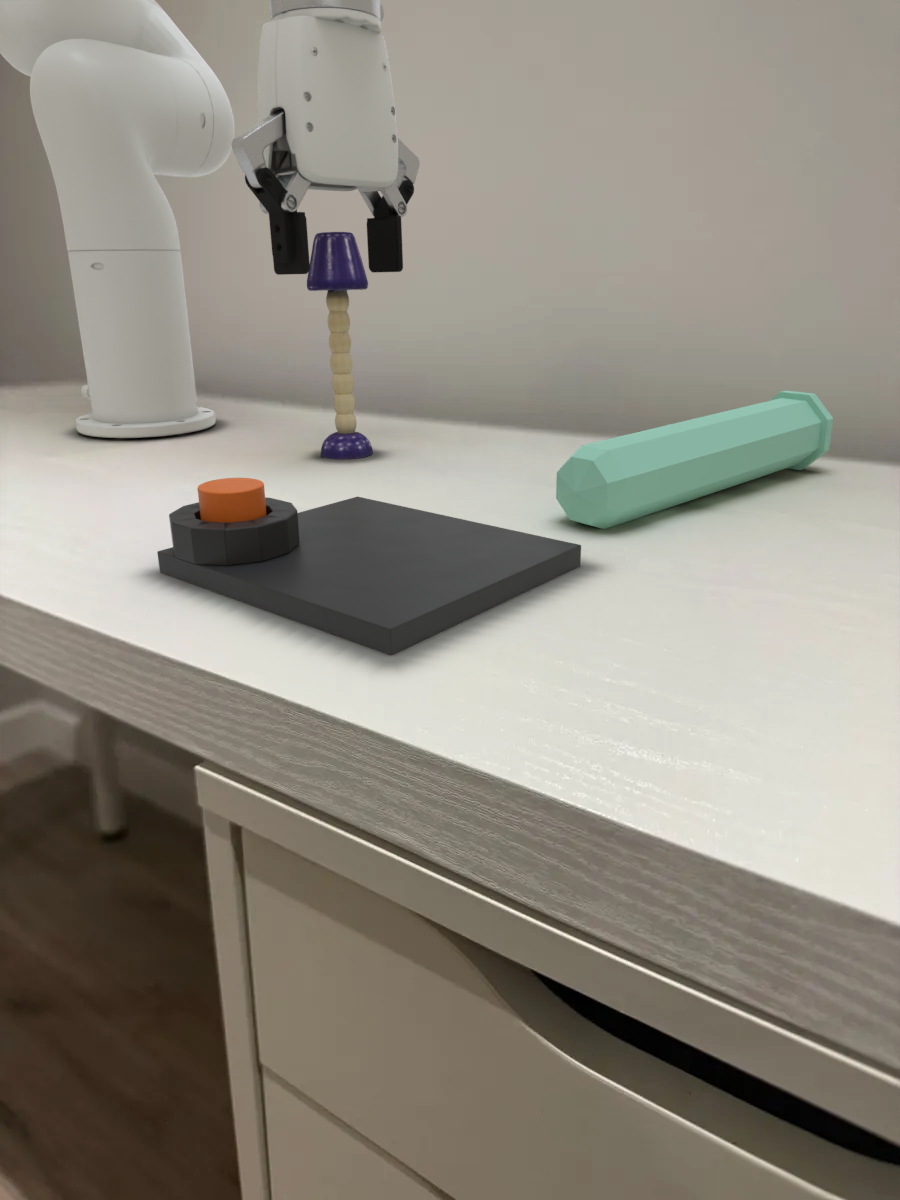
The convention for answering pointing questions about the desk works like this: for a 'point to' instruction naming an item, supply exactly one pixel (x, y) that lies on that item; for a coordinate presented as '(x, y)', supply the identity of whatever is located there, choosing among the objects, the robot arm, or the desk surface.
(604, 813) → the desk surface
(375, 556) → the scale
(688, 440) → the container
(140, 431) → the robot arm
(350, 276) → the toy lamp
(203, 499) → the button
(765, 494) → the desk surface
